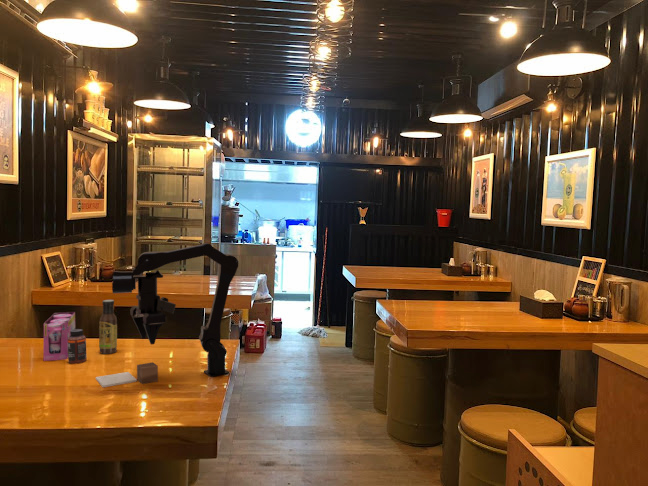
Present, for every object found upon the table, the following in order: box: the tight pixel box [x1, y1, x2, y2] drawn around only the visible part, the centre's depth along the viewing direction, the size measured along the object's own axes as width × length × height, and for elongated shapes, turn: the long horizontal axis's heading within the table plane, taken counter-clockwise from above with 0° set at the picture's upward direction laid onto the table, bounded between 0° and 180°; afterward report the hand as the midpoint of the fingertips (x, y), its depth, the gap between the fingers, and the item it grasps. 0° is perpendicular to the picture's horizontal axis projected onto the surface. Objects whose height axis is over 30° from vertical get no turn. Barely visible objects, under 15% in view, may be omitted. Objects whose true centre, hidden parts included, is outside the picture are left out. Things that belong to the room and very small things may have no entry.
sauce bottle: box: [98, 299, 118, 355], centre depth 198 cm, size 6×6×20 cm
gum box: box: [43, 311, 76, 362], centre depth 197 cm, size 24×8×14 cm, turn 18°
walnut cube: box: [136, 361, 159, 385], centre depth 164 cm, size 5×5×5 cm
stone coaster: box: [95, 371, 138, 388], centre depth 165 cm, size 10×10×1 cm
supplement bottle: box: [67, 328, 87, 364], centre depth 185 cm, size 6×6×11 cm
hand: (148, 341), depth 165 cm, fingers open, 9 cm apart
